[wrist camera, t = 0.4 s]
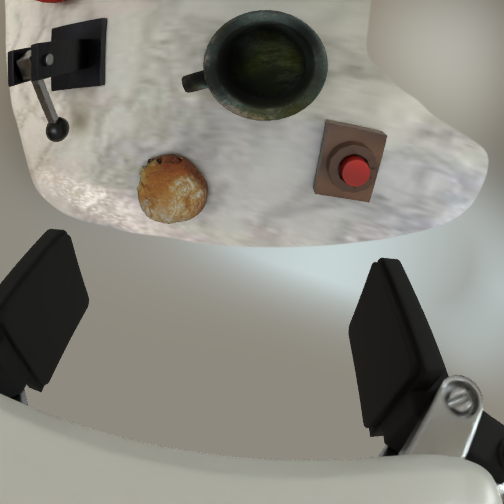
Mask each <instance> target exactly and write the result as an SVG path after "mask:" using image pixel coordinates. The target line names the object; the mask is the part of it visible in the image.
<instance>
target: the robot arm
mask: <svg viewBox="0 0 504 504" xmlns="http://www.w3.org/2000/svg"><path fill="white" fill-rule="evenodd" d="M88 304H89V297H88V294H87V291H86V288H85V285H84V282H83V278H82V275H81V272H80V269H79V265H78V262H77V258H76V255H75V251H74V247H73V244H72V240H71V237H70V236H69V235H68V234H67V232H66V231H64V230H57V229H49V230H47V231H46V232H45V233H44V234H43V235H42V237H40V239H39V240H38V241H37V242H36V243H35V244H34V245H33V246H32V247H31V248H30V250H29V251H28V252H27V253H26V254H25V255H24V256H23V258H22V259H21V260H20V261H19V262H18V263H17V264H16V266H15V267H14V268H13V269H12V270H11V272H10V273H9V274H8V275H7V276H6V278H5V279H4V280H3V281H2V283H1V284H0V504H504V425H503V424H501V423H500V422H498V421H497V420H496V419H494V418H493V417H491V416H490V415H488V414H487V413H486V412H484V411H483V406H484V401H483V395H482V393H481V391H480V389H479V387H478V386H477V385H476V384H475V383H474V382H473V381H472V380H470V379H469V378H467V377H464V376H461V375H453V376H448V374H447V371H446V368H445V365H444V363H443V360H442V357H441V354H440V352H439V349H438V346H437V344H436V342H435V339H434V336H433V334H432V331H431V329H430V326H429V324H428V322H427V319H426V317H425V314H424V312H423V310H422V308H421V305H420V303H419V301H418V299H417V296H416V294H415V292H414V290H413V288H412V285H411V283H410V281H409V279H408V277H407V275H406V273H405V271H404V269H403V267H402V264H401V262H400V261H399V260H398V259H389V258H380V259H379V260H378V262H374V263H373V264H372V266H371V269H370V272H369V274H368V277H367V280H366V283H365V286H364V288H363V291H362V294H361V296H360V299H359V302H358V304H357V307H356V310H355V312H354V315H353V317H352V320H351V322H350V325H349V339H350V344H351V350H352V354H353V361H354V366H355V372H356V378H357V384H358V390H359V396H360V402H361V410H362V416H363V423H364V426H365V427H366V428H369V431H370V437H374V436H384V442H385V444H386V445H385V447H384V448H383V450H382V451H381V453H380V454H379V456H378V457H371V458H359V459H358V458H357V459H337V460H336V459H335V460H278V459H258V458H244V457H233V456H224V455H214V454H207V453H200V452H193V451H186V450H181V449H174V448H169V447H164V446H159V445H154V444H149V443H144V442H140V441H136V440H132V439H127V438H124V437H120V436H116V435H112V434H108V433H105V432H101V431H98V430H95V429H91V428H88V427H85V426H82V425H78V424H76V423H73V422H70V421H67V420H64V419H61V418H58V417H55V416H53V415H50V414H47V413H45V412H42V411H40V410H37V409H35V408H32V407H29V406H28V403H27V398H26V394H25V390H24V388H25V386H26V384H27V385H28V386H29V388H32V389H34V390H37V391H39V392H42V389H43V387H44V385H46V384H48V383H49V381H50V379H51V377H52V375H53V373H54V371H55V369H56V367H57V365H58V363H59V360H60V359H61V356H62V354H63V353H64V350H65V348H66V347H67V345H68V343H69V341H70V338H71V337H72V335H73V333H74V331H75V329H76V328H77V326H78V324H79V322H80V320H81V318H82V317H83V315H84V313H85V311H86V309H87V307H88Z"/></svg>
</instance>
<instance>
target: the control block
mask: <svg viewBox="0 0 504 504" xmlns="http://www.w3.org/2000/svg"><path fill="white" fill-rule="evenodd" d="M386 138H387V135H386V134H384V133H383V132H382V131H378V130H374V129H369V128H365V127H360V126H356V125H351V124H346V123H341V122H336V121H331V120H326V123H325V129H324V134H323V139H322V145H321V150H320V155H319V160H318V165H317V170H316V175H315V180H314V185H313V188H314V192H315V194H321V195H327V196H334V197H340V198H346V199H352V200H358V201H364V202H369V201H370V198H371V195H372V191H373V188H374V184H375V180H376V177H377V173H378V170H379V166H380V162H381V158H382V154H383V150H384V147H385V142H386ZM349 156H359V157H361V158H362V159H363V160H364V161H365V162H366V164H367V165H368V166H369V169H370V176H369V179H368V180H367V182H366V183H365V184H363V185H361V186H357V187H354V186H350V185H348V184H347V183H346V182H345V181H344V179H343V177H342V175H341V173H340V165H341V163H342V161H343V160H344V159H345V158H347V157H349Z"/></svg>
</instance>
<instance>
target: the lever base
mask: <svg viewBox="0 0 504 504" xmlns="http://www.w3.org/2000/svg"><path fill="white" fill-rule="evenodd" d="M106 26H107V18H101V19H95V20H90V21H84V22H79V23H75V24H70V25H66V26H61V27H57V28H53V29H52V36H51V42H44V43H37V44H33V45H31V47H30V48H24V49H18V50H13V51H10V52H8V84H9V87H10V86H14V85H17V84H21V83H24V82H27V81H30V80H31V82H34V81H38V80H42V79H45V78H49V77H51V90H52V91H56V90H64V89H72V88H81V87H92V86H102V85H105V45H106ZM29 50H31V79H30V78H27V79H23V78H22V75H21V73H20V70H19V68H18V65H17V62H16V61H17V60H18V59H19V58H20V57H21V56H23V55H24V54H25V53H26V52H27V51H29Z"/></svg>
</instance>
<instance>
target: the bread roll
mask: <svg viewBox="0 0 504 504" xmlns="http://www.w3.org/2000/svg"><path fill="white" fill-rule="evenodd" d="M139 175H140V179H141V180H140V182H139V185H138V187H137V191H138V197H139V202H140V206H141V208H142V210H143V212H144V213H145V214H146V215H147V217H149V218H150V219H153V220H155V221H158V222H162V223H168V224H171V223H176V222H182V221H186V220H189V219H191V218H193V217H195V216H196V215H198V214H199V213H200V212H201V211H202V209H203V207H204V206H205V203H206V200H207V185H206V182H205V179H204V177H203V176H202V175H201V173H200V172H199V171H198V170H197V168H196V167H195V166H194V165H193V164H192V163H191V162H190V161H189V160H186V159H185V158H183V157H179V156H176V155H164V156H159V157H156V158H154V159H149V160H148V164H147V167H144V166H142V167H141V169H139Z"/></svg>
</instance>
